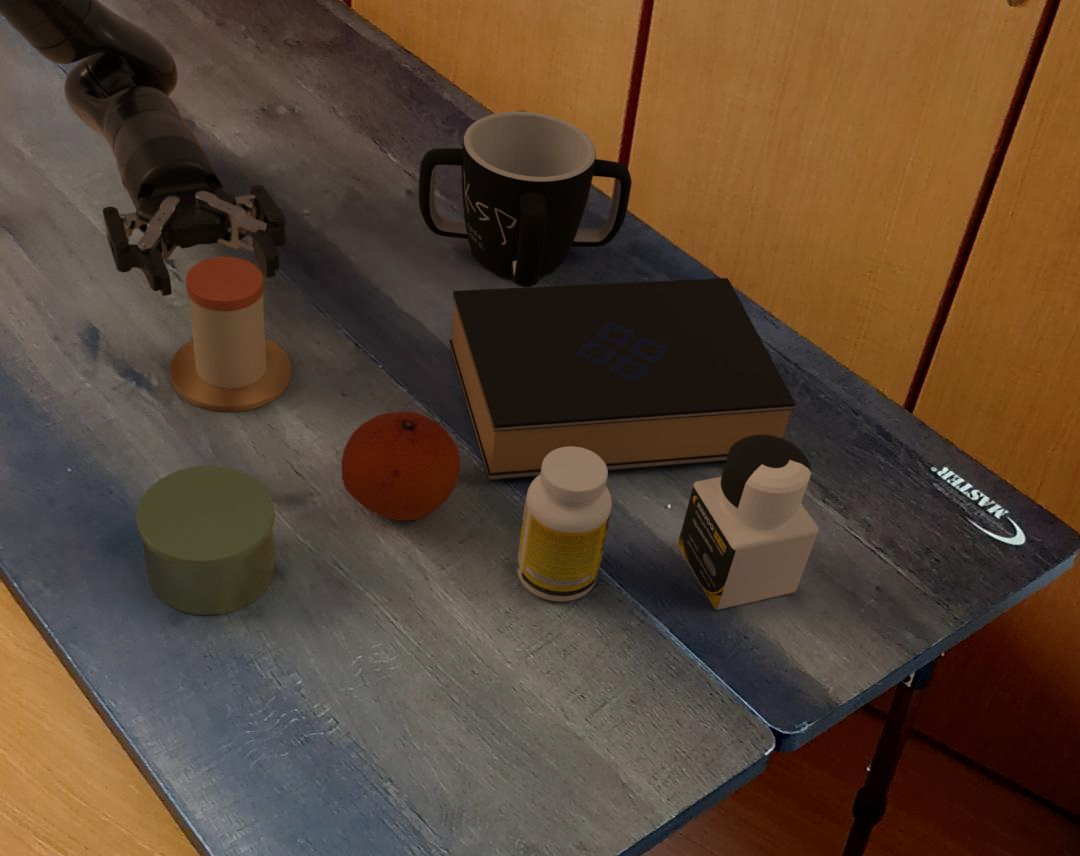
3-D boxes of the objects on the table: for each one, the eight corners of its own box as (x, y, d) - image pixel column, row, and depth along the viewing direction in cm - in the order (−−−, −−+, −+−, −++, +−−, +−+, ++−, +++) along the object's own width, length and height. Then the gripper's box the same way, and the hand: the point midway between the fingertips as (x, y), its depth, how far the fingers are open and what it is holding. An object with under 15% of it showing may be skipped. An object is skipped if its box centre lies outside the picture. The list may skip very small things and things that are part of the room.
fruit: (474, 481, 106) (482, 406, 100) (426, 553, 100) (431, 477, 94) (375, 445, 108) (377, 369, 102) (322, 514, 102) (321, 436, 96)
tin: (150, 626, 92) (141, 569, 88) (140, 531, 98) (131, 472, 94) (285, 608, 95) (283, 551, 90) (267, 516, 101) (264, 458, 97)
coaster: (176, 417, 107) (175, 412, 107) (165, 341, 114) (164, 335, 113) (299, 405, 110) (299, 400, 109) (282, 331, 116) (282, 326, 116)
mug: (400, 239, 128) (405, 126, 119) (524, 191, 136) (536, 83, 128) (509, 325, 121) (522, 212, 112) (633, 270, 129) (654, 160, 120)
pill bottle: (609, 595, 99) (633, 490, 91) (533, 613, 97) (551, 507, 89) (578, 537, 103) (598, 431, 95) (504, 553, 101) (518, 446, 93)
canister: (198, 393, 109) (189, 304, 102) (191, 347, 113) (182, 259, 106) (272, 386, 110) (268, 298, 104) (262, 341, 114) (257, 254, 108)
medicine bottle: (675, 545, 103) (705, 431, 95) (755, 528, 106) (792, 415, 97) (714, 612, 99) (750, 499, 90) (797, 593, 101) (839, 481, 93)
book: (448, 351, 117) (453, 290, 112) (712, 336, 123) (727, 277, 118) (487, 487, 106) (494, 425, 101) (776, 463, 111) (796, 403, 107)
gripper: (77, 144, 111) (125, 252, 101) (243, 122, 116) (304, 223, 106) (89, 221, 116) (135, 331, 106) (248, 197, 121) (305, 299, 112)
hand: (219, 277), depth 106 cm, fingers open, 8 cm apart
